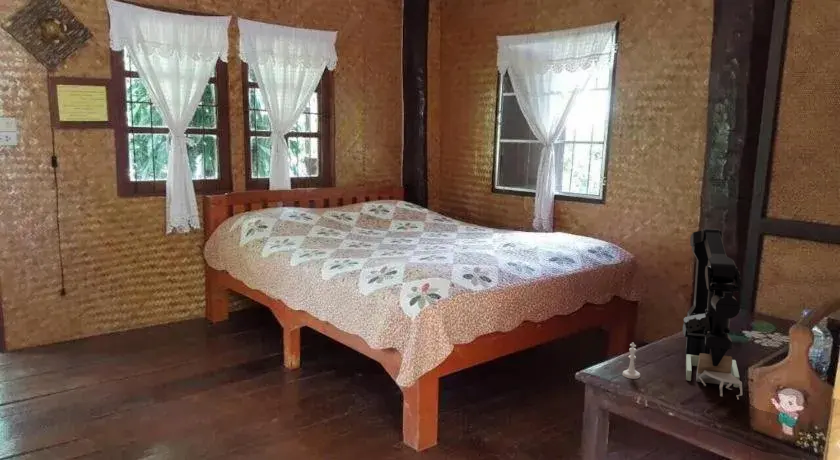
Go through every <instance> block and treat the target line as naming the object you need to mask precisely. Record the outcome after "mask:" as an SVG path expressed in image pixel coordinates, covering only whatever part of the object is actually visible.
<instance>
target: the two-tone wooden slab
mask: <svg viewBox="0 0 840 460" xmlns="http://www.w3.org/2000/svg"><path fill="white" fill-rule="evenodd" d="M732 360H733V356H730V355H724V356H723V358H722V360H721V361H720V363H719V364H718V366H713V363H712V355H711V353H710V354H704V353H700V355H699V361H698V366H696V376H695V378H696V379H695V380H696V382H697V383H702V381H701V380H700V379H699V377H698V376H699V375H700V374H702V373H703V372H704V371H712V372H721V373H730V374H731V366H732ZM701 378H702V380H703V381H704V383H705V384H706V383H707V384H714V385H720V383H721V381H720V380H717V379H715V378H712V377H710V376H708V375H706V374H705V375H703V376H701ZM728 384H729V382H724V383H723V386H727V385H728Z"/></svg>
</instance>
